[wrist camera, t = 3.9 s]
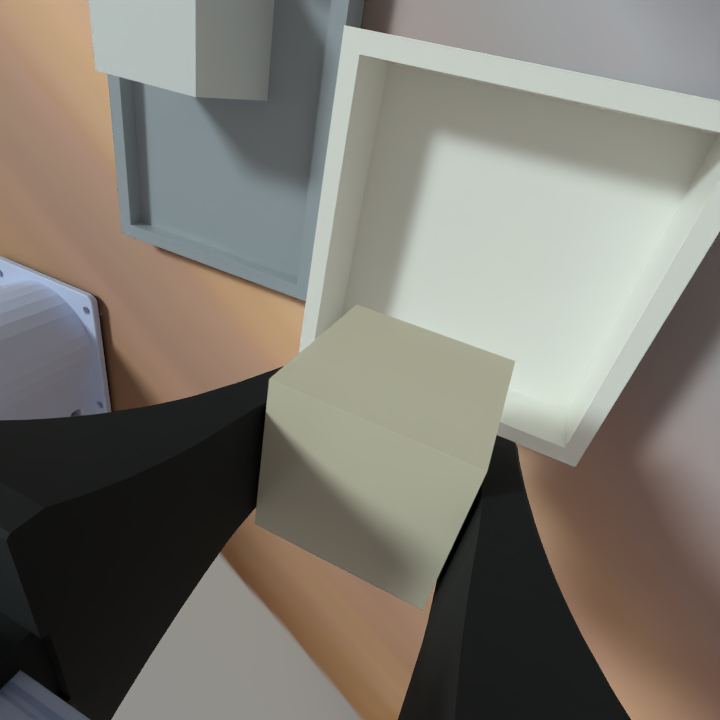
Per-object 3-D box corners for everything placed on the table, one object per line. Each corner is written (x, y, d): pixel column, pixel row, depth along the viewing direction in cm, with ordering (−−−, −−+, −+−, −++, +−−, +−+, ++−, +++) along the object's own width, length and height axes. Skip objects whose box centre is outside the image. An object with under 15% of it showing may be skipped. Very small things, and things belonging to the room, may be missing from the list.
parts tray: (319, 293, 21) (306, 302, 20) (141, 228, 23) (121, 233, 22) (424, -386, 11) (409, -434, 10) (101, -375, 14) (64, -413, 13)
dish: (575, 421, 19) (575, 467, 16) (330, 327, 21) (298, 355, 19) (750, 115, 13) (790, 115, 10) (381, 39, 15) (344, 25, 13)
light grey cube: (267, 100, 17) (195, 97, 14) (181, 78, 18) (95, 70, 15) (276, -36, 15) (195, -77, 12) (179, -53, 16) (78, -95, 13)
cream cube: (462, 482, 13) (422, 610, 9) (332, 425, 14) (254, 523, 10) (515, 361, 11) (487, 471, 7) (356, 304, 11) (269, 378, 8)
